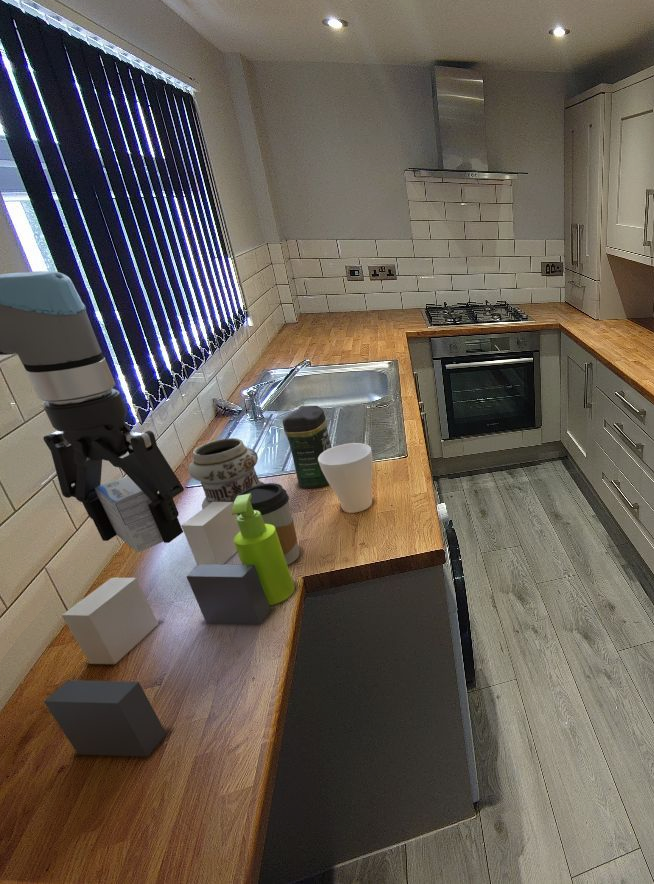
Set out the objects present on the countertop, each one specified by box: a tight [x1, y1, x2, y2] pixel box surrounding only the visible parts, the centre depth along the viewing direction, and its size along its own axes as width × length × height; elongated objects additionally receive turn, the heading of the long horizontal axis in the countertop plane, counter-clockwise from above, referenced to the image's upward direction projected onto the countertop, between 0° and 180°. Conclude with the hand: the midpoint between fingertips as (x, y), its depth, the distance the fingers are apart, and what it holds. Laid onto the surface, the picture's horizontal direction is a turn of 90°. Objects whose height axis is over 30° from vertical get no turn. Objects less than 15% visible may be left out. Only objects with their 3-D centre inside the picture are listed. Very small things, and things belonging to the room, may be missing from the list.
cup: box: [318, 442, 374, 514], centre depth 114 cm, size 10×10×14 cm
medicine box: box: [95, 475, 164, 553], centre depth 77 cm, size 8×4×9 cm, turn 56°
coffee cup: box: [238, 482, 301, 566], centre depth 97 cm, size 8×8×15 cm
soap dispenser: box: [232, 493, 295, 606], centre depth 87 cm, size 6×7×20 cm
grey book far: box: [186, 564, 272, 625], centre depth 84 cm, size 9×3×10 cm, turn 88°
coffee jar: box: [282, 405, 333, 489], centre depth 125 cm, size 10×8×19 cm
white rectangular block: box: [61, 577, 159, 665], centre depth 79 cm, size 4×8×10 cm, turn 178°
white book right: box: [180, 502, 240, 567], centre depth 99 cm, size 4×8×10 cm, turn 178°
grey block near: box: [43, 679, 167, 757], centre depth 64 cm, size 9×3×10 cm, turn 88°
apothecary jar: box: [187, 437, 266, 516], centre depth 109 cm, size 12×12×18 cm
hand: (143, 536), depth 78 cm, fingers closed on medicine box, 9 cm apart
